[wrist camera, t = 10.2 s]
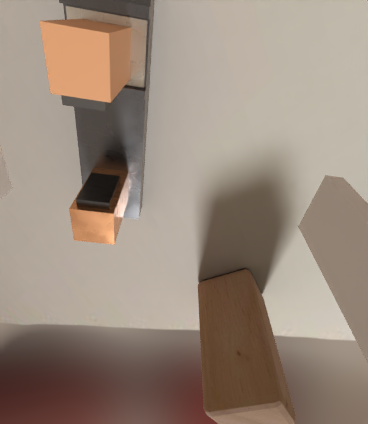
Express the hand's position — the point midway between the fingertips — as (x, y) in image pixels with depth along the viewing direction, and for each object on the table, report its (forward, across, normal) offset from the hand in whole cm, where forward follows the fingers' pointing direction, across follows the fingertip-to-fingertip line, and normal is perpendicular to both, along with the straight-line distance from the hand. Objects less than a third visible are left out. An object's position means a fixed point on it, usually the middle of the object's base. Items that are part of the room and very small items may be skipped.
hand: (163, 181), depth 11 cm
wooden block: (+22, +14, -34) cm, 42 cm away
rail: (+20, -7, -5) cm, 22 cm away
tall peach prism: (+17, -7, +2) cm, 19 cm away
